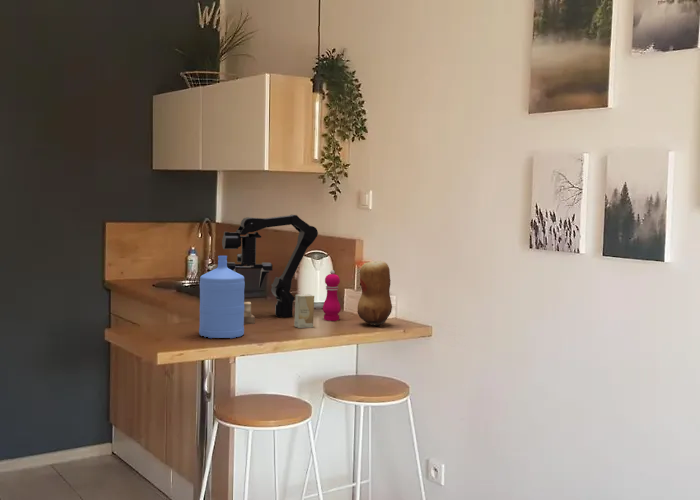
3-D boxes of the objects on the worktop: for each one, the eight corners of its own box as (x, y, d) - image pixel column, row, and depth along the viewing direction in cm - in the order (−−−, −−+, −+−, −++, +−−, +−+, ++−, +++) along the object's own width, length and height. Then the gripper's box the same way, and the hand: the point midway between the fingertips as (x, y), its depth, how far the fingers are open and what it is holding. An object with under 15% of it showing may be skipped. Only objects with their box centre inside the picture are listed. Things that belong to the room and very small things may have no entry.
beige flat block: (252, 321, 308) (252, 314, 308) (254, 324, 302) (254, 317, 301) (234, 322, 306) (234, 314, 306) (236, 325, 300) (236, 317, 300)
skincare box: (298, 328, 294) (299, 296, 293) (293, 326, 298) (294, 294, 297) (314, 327, 297) (314, 295, 296) (309, 325, 301) (310, 293, 300)
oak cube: (250, 314, 306) (250, 301, 306) (250, 316, 301) (250, 303, 301) (237, 314, 306) (237, 301, 305) (237, 316, 301) (237, 303, 300)
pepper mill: (344, 319, 315) (345, 270, 314) (331, 321, 310) (332, 271, 308) (331, 317, 320) (332, 268, 319) (318, 319, 315) (319, 269, 313)
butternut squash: (352, 322, 309) (353, 259, 307) (383, 321, 314) (385, 259, 312) (365, 328, 296) (367, 262, 294) (397, 327, 301) (399, 262, 299)
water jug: (251, 337, 275) (252, 257, 272) (209, 340, 266) (210, 258, 264) (232, 329, 288) (233, 253, 285) (192, 333, 279) (192, 254, 277)
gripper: (270, 247, 323) (270, 285, 324) (224, 247, 319) (224, 285, 320) (272, 249, 312) (272, 288, 313) (225, 249, 308) (224, 288, 309)
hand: (248, 287), depth 314 cm, fingers open, 9 cm apart
